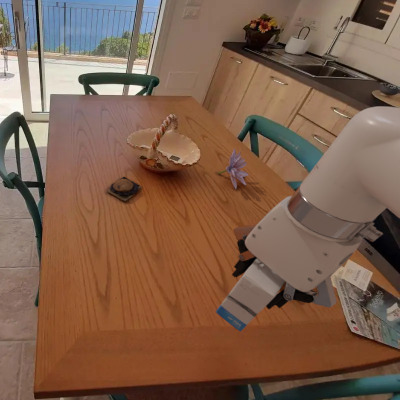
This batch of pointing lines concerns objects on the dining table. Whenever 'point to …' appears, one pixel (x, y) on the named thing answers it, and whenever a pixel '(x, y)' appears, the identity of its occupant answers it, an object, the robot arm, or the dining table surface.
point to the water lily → (236, 168)
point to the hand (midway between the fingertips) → (255, 287)
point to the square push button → (124, 189)
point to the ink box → (250, 295)
